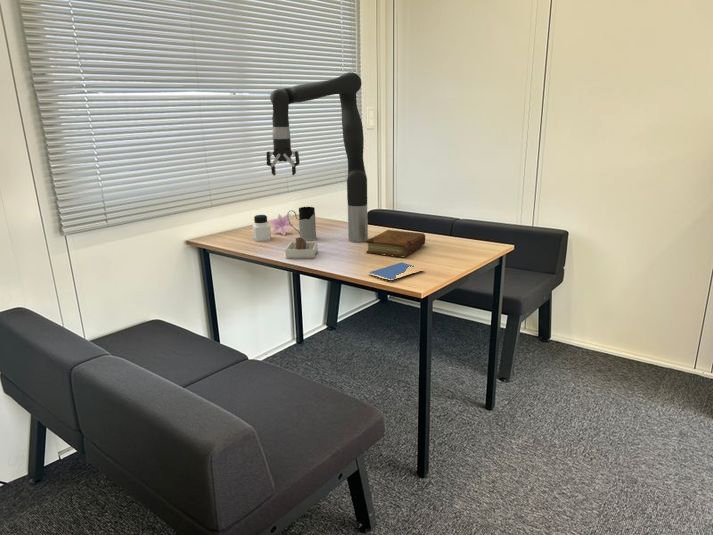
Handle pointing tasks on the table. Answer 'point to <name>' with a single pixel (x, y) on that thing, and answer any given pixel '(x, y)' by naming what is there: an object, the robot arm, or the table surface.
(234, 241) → the table surface
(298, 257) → the plank slot holder tray
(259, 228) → the medicine bottle
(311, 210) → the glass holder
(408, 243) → the diary
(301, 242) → the wooden plank piece
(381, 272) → the blue notebook
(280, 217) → the lily
